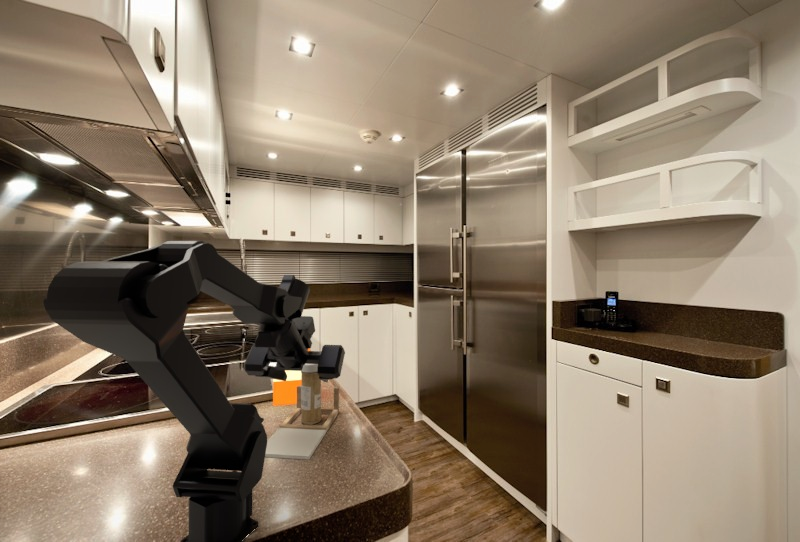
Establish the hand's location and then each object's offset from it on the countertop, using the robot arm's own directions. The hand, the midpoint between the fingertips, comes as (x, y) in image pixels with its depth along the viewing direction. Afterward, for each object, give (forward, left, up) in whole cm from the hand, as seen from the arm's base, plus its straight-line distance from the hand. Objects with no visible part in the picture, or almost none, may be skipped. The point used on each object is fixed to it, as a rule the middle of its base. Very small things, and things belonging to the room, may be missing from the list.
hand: (306, 379), depth 70 cm
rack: (+3, +1, -10) cm, 11 cm away
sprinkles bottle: (+3, +1, -10) cm, 11 cm away
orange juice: (+11, +14, -10) cm, 21 cm away
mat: (-6, -2, -10) cm, 12 cm away
